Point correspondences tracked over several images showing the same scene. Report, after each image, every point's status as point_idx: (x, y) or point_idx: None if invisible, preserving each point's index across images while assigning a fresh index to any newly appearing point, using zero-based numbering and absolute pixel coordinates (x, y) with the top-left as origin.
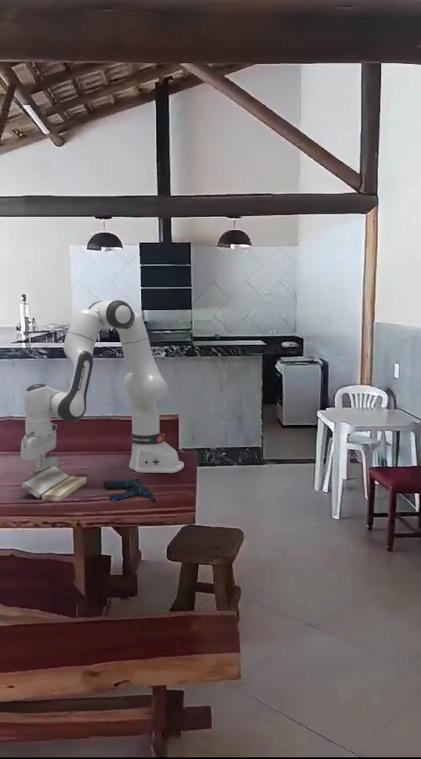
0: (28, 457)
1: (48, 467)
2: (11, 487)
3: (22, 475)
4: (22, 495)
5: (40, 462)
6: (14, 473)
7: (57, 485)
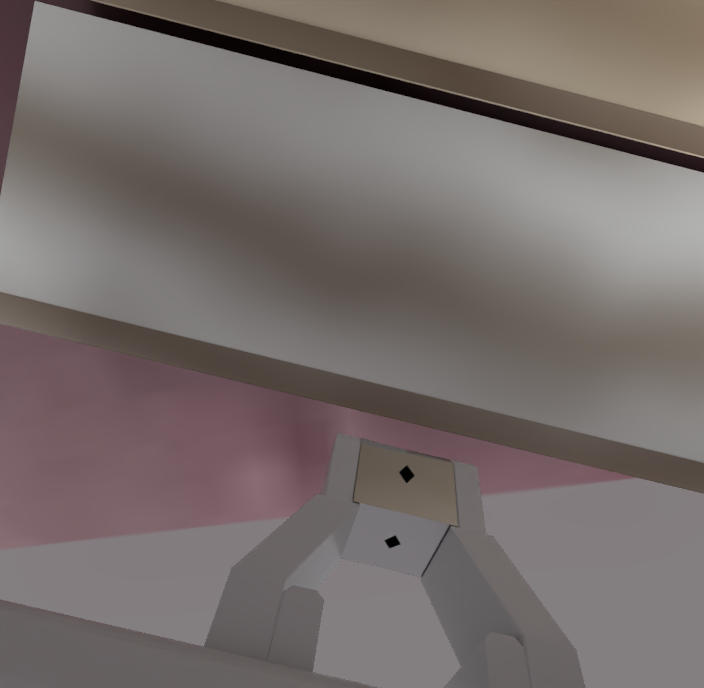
0: None
1: (107, 336)
2: None
3: (70, 466)
4: None
5: (453, 525)
6: (50, 509)
7: (505, 73)
